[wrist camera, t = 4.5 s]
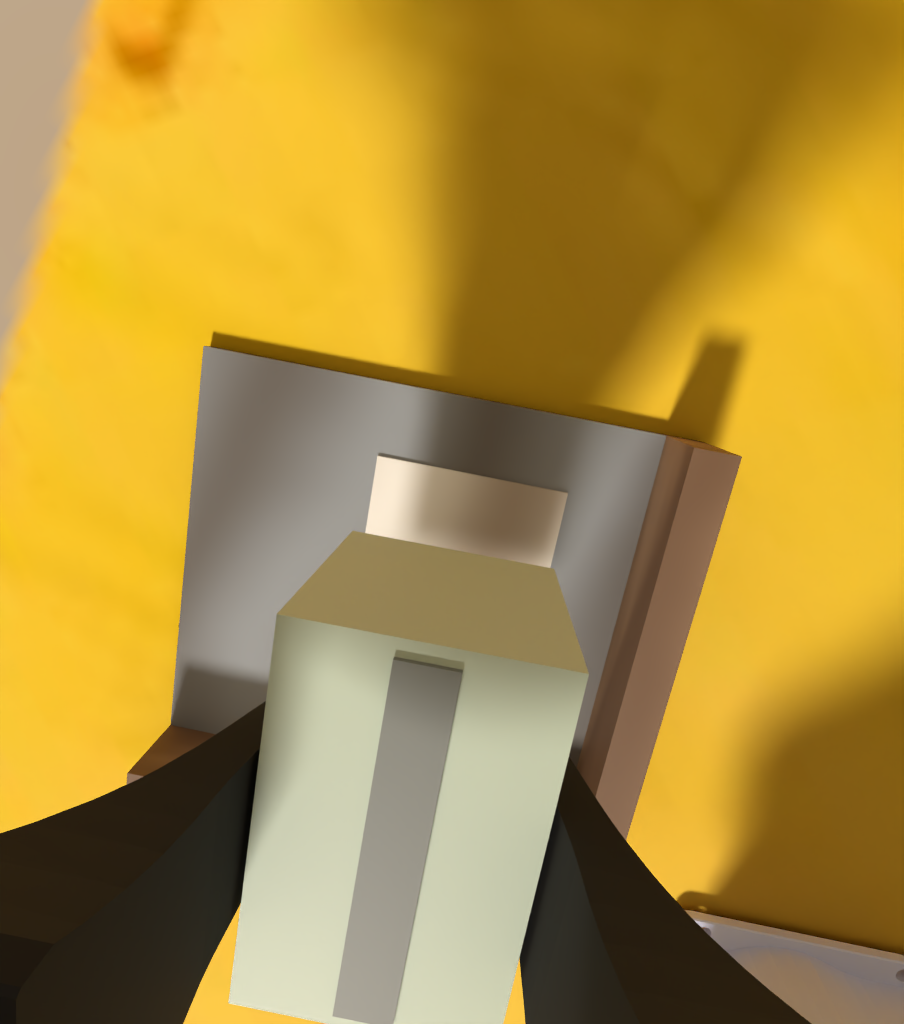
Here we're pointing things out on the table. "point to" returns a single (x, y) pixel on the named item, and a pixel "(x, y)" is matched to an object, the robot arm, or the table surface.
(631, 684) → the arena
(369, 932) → the block
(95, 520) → the table surface
